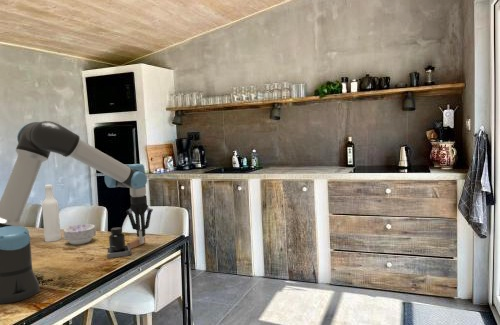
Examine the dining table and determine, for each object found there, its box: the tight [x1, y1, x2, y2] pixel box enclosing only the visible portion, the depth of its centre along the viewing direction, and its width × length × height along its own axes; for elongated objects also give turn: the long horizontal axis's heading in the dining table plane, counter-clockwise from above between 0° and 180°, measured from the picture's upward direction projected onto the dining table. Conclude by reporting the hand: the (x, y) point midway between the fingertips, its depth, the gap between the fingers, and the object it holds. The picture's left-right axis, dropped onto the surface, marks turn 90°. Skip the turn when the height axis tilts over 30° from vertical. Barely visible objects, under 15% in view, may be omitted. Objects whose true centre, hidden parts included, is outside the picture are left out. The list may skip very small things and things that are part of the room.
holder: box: [106, 236, 146, 259], centre depth 184 cm, size 19×18×3 cm
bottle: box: [41, 184, 62, 243], centre depth 208 cm, size 8×8×30 cm
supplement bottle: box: [108, 226, 126, 253], centre depth 179 cm, size 7×7×12 cm
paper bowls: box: [63, 223, 97, 246], centre depth 202 cm, size 15×15×8 cm
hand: (141, 242), depth 191 cm, fingers closed
